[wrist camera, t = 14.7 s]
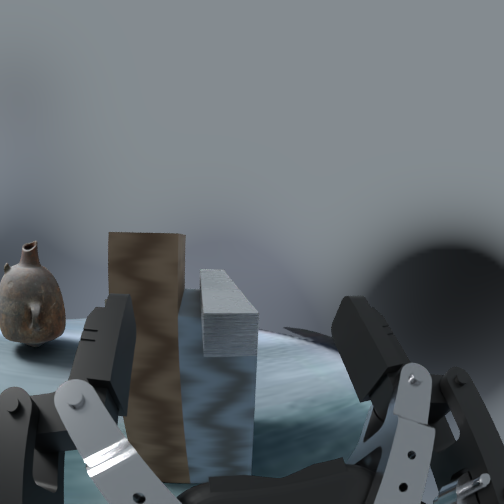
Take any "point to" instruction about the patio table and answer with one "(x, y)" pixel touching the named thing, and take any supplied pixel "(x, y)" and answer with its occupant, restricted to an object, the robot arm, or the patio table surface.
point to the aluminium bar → (226, 317)
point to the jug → (30, 301)
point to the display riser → (179, 369)
